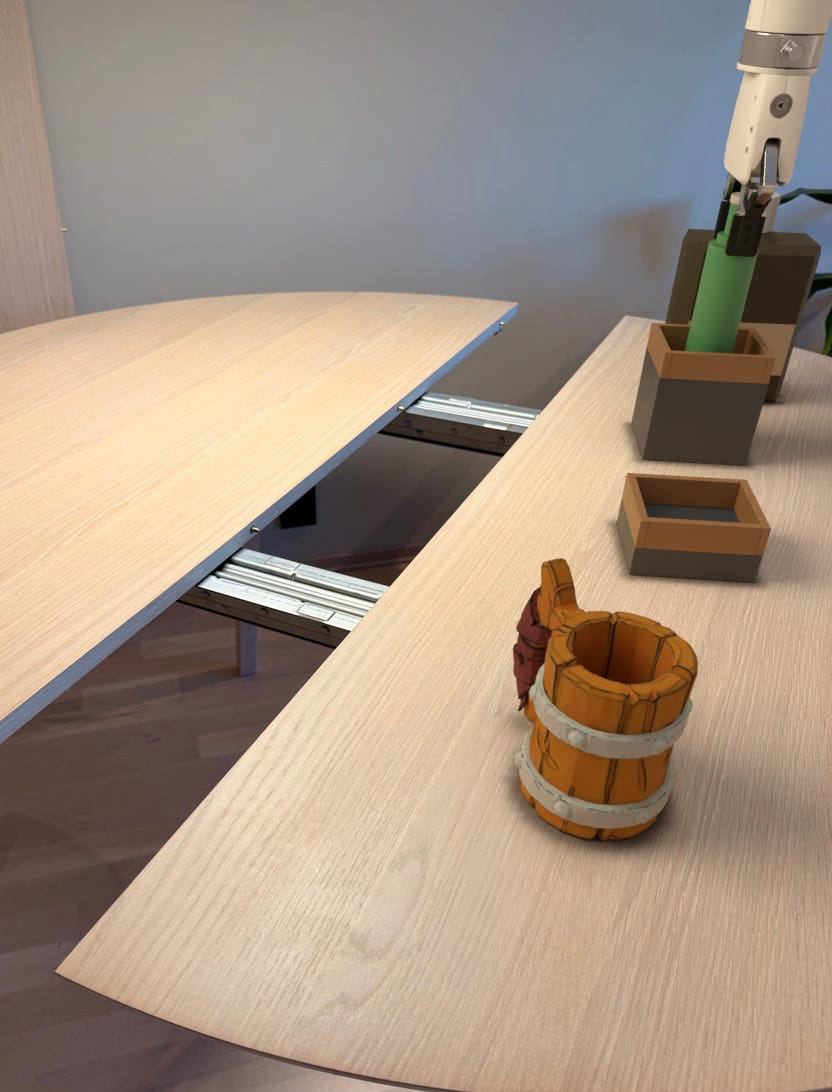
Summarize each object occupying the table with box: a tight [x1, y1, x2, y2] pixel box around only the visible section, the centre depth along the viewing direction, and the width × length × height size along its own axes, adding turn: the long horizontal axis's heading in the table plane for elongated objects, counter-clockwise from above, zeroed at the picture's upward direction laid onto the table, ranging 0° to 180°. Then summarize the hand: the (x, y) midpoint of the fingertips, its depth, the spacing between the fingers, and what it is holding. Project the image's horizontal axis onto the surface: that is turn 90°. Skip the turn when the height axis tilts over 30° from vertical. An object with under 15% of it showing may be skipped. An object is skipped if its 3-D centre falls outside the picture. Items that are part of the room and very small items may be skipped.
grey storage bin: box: [630, 322, 776, 466], centre depth 116 cm, size 12×10×13 cm
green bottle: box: [685, 192, 759, 354], centre depth 108 cm, size 5×5×17 cm
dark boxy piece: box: [664, 190, 822, 403], centre depth 126 cm, size 8×16×25 cm, turn 87°
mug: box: [512, 557, 699, 842], centre depth 69 cm, size 11×16×15 cm, turn 24°
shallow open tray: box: [616, 472, 772, 583], centre depth 97 cm, size 12×10×6 cm
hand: (734, 246), depth 106 cm, fingers closed on green bottle, 5 cm apart
